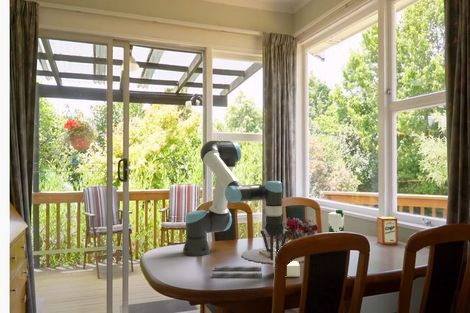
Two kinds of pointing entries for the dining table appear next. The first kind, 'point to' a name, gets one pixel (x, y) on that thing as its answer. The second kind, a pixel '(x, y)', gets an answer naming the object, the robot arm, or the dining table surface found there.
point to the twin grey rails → (237, 275)
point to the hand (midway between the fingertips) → (274, 267)
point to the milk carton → (336, 221)
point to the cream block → (293, 269)
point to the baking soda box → (387, 230)
